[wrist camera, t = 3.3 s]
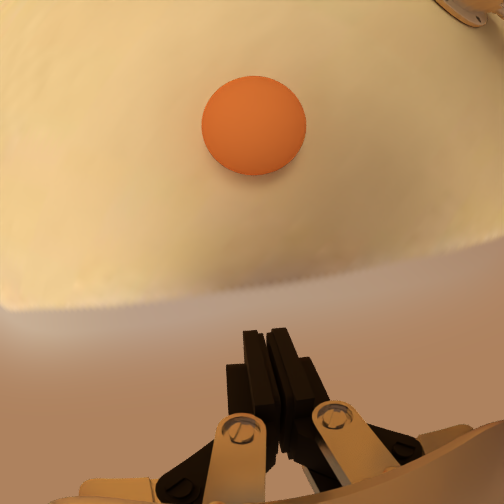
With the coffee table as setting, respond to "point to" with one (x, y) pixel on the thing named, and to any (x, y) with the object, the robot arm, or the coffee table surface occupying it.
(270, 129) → the ball
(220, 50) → the coffee table surface
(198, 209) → the coffee table surface
